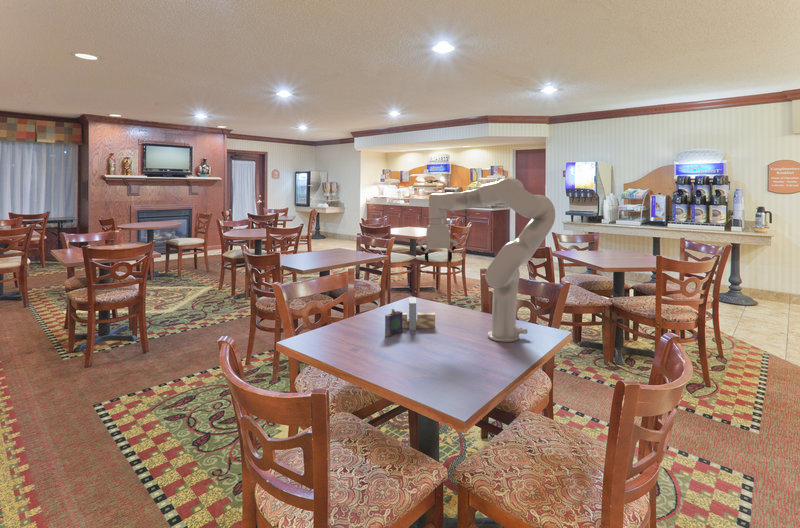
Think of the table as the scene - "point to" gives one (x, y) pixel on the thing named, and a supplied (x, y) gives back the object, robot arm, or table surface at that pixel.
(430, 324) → the rail
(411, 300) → the flat gray plate
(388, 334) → the flask
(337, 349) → the table surface
